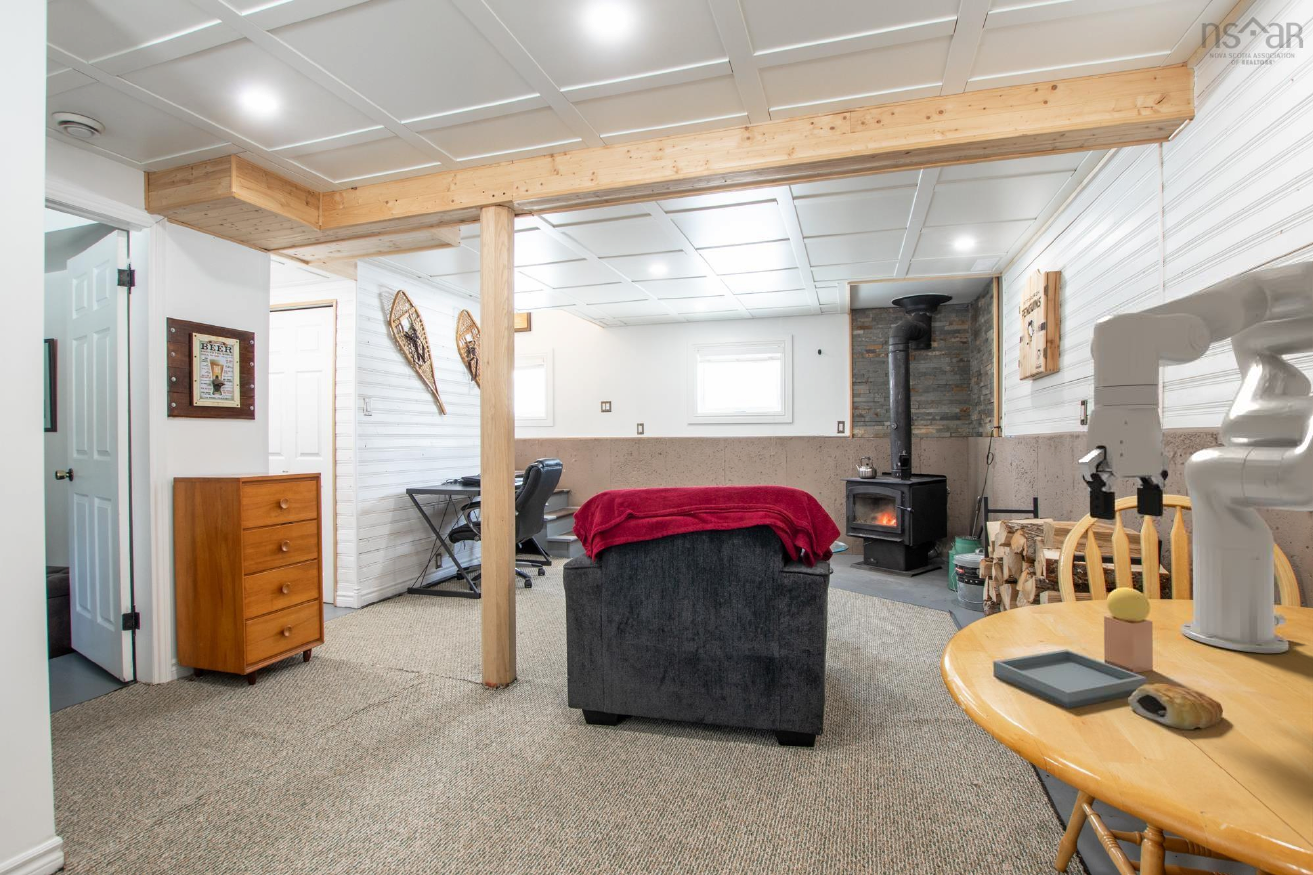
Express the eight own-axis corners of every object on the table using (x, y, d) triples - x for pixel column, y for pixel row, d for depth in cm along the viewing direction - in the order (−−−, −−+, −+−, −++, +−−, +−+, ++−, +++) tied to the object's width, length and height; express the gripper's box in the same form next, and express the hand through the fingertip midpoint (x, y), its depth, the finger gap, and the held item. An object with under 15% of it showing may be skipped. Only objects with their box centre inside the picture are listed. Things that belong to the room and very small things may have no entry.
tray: (1066, 662, 89) (1066, 649, 89) (1146, 692, 79) (1146, 677, 79) (993, 675, 85) (993, 661, 85) (1068, 708, 75) (1067, 692, 75)
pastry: (1182, 701, 77) (1182, 672, 77) (1243, 727, 70) (1243, 694, 70) (1122, 709, 75) (1122, 679, 75) (1179, 736, 68) (1179, 703, 68)
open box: (1123, 659, 90) (1123, 613, 90) (1152, 669, 87) (1152, 621, 86) (1104, 663, 89) (1104, 616, 89) (1133, 673, 85) (1132, 624, 85)
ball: (1122, 615, 91) (1121, 582, 91) (1158, 625, 86) (1158, 590, 86) (1098, 618, 89) (1098, 585, 89) (1134, 629, 85) (1133, 593, 85)
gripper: (1139, 401, 94) (1140, 511, 94) (1057, 400, 89) (1058, 516, 89) (1195, 398, 87) (1196, 517, 87) (1109, 397, 81) (1110, 523, 81)
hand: (1126, 517), depth 88 cm, fingers open, 9 cm apart
